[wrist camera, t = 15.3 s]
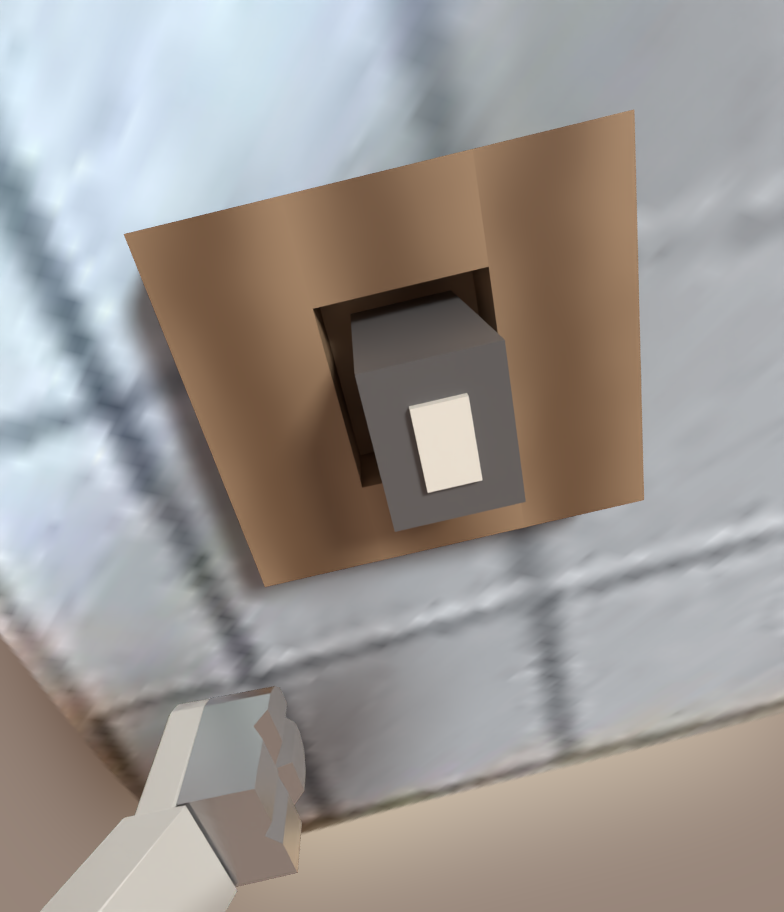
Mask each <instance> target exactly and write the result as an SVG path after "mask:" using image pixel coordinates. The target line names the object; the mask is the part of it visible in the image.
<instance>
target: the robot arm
mask: <svg viewBox="0 0 784 912" xmlns="http://www.w3.org/2000/svg"><path fill="white" fill-rule="evenodd" d="M286 708H287V701H286V699H285V697H284V695H283V693H282V691H281V689H280V687H275V686H273V687H268V688H262V689H257V690H251V691H246V692H240V693H235V694H229V695H224V696H218V697H213V698H210V699H206V700H200V701H195V702H189V703H184V704H178V705H177V706H176V707H175V709H174V710H173V711H172V712H171V714H170V715H169V718H168V721H167V724H166V727H165V729H164V732H163V735H162V738H161V741H160V744H159V746H158V749H157V752H156V755H155V758H154V761H153V764H152V766H151V769H150V772H149V775H148V778H147V781H146V783H145V786H144V789H143V792H142V795H141V798H140V801H139V804H138V806H137V809H136V812H135V815H134V816H129V817H125V818H123V819H122V820H121V821H120V822H119V824H118V825H117V826H116V827H115V828H114V829H113V830H112V831H111V832H110V834H109V835H108V836H107V837H106V838H105V839H104V840H103V841H102V843H101V844H100V845H99V846H98V847H97V848H96V849H95V850H94V851H93V853H92V854H91V855H90V856H89V857H88V858H87V859H86V860H85V862H84V863H83V864H82V865H81V866H80V867H79V868H78V869H77V870H76V871H75V873H74V874H73V875H72V876H71V877H70V878H69V879H68V880H67V882H66V883H65V884H64V885H63V886H62V887H61V888H60V889H59V891H58V892H57V893H56V894H55V895H54V896H53V897H52V898H51V900H50V901H49V902H48V903H47V904H46V905H45V906H44V907H43V908H42V909H41V911H40V912H226V910H227V909H228V907H229V905H230V903H231V902H232V900H233V898H234V896H235V894H236V893H237V889H236V887H237V886H242V885H246V884H250V883H255V882H259V881H263V880H268V879H272V878H276V877H281V876H285V875H290V874H294V873H298V862H299V850H300V839H301V827H302V821H301V819H300V817H299V814H298V812H297V810H296V808H295V806H294V805H295V804H296V802H297V801H298V799H299V798H300V796H301V795H302V793H303V792H304V790H305V775H306V768H305V754H304V747H303V743H302V738H301V734H300V732H299V729H298V727H297V725H296V723H295V722H293V721H291V720H290V719H288V718H286V717H285V716H286Z"/></svg>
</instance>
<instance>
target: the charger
mask: <svg viewBox="0 0 784 912" xmlns="http://www.w3.org/2000/svg"><path fill="white" fill-rule="evenodd" d="M350 316H351V330H352V344H353V358H354V372H355V378H356V382H357V386H358V390H359V394H360V398H361V401H362V405H363V409H364V413H365V417H366V421H367V425H368V429H369V433H370V437H371V441H372V444H373V448H374V452H375V456H376V460H377V464H378V468H379V472H380V476H381V480H382V484H383V487H384V491H385V495H386V499H387V503H388V507H389V511H390V515H391V519H392V523H393V527H394V530H395V532H397V531H401V530H405V529H410V528H414V527H419V526H423V525H427V524H432V523H436V522H440V521H445V520H449V519H453V518H458V517H462V516H467V515H471V514H475V513H480V512H484V511H488V510H493V509H497V508H502V507H506V506H510V505H515V504H519V503H523V502H526V499H525V491H524V484H523V476H522V468H521V461H520V453H519V445H518V438H517V430H516V422H515V414H514V407H513V399H512V391H511V384H510V376H509V368H508V361H507V353H506V345H505V339H504V338H502V337H501V336H500V335H499V334H498V333H497V332H496V331H495V330H494V329H493V328H492V327H490V326H489V325H488V324H487V323H486V322H485V321H484V320H483V319H482V318H481V317H480V316H479V315H477V314H476V313H475V312H474V311H473V310H472V309H471V308H470V307H469V306H468V305H467V304H465V303H464V302H463V301H462V300H461V299H460V298H459V297H458V296H457V295H456V294H455V293H454V292H452V291H451V290H449V291H445V292H441V293H437V294H432V295H428V296H424V297H420V298H415V299H411V300H407V301H403V302H399V303H394V304H390V305H386V306H382V307H377V308H373V309H369V310H365V311H361V312H356V313H352V314H350Z"/></svg>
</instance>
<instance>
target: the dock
mask: <svg viewBox="0 0 784 912" xmlns="http://www.w3.org/2000/svg"><path fill="white" fill-rule="evenodd" d="M124 236H125V238H126V241H127V243H128V246H129V248H130V251H131V253H132V256H133V258H134V261H135V263H136V266H137V268H138V271H139V273H140V276H141V278H142V281H143V283H144V286H145V288H146V291H147V293H148V296H149V298H150V301H151V303H152V306H153V308H154V311H155V313H156V316H157V318H158V321H159V323H160V326H161V328H162V331H163V333H164V336H165V338H166V341H167V343H168V346H169V348H170V351H171V353H172V356H173V358H174V361H175V363H176V366H177V368H178V371H179V373H180V376H181V378H182V381H183V383H184V386H185V388H186V391H187V393H188V396H189V398H190V401H191V403H192V406H193V408H194V411H195V413H196V416H197V418H198V421H199V423H200V426H201V428H202V431H203V433H204V436H205V438H206V441H207V443H208V446H209V448H210V451H211V453H212V456H213V458H214V461H215V463H216V466H217V468H218V471H219V473H220V476H221V478H222V481H223V483H224V486H225V488H226V491H227V493H228V496H229V498H230V501H231V503H232V506H233V508H234V511H235V513H236V516H237V518H238V521H239V523H240V526H241V528H242V531H243V533H244V536H245V538H246V541H247V543H248V546H249V548H250V551H251V553H252V556H253V558H254V561H255V563H256V566H257V568H258V571H259V573H260V576H261V578H262V581H263V583H264V586H265V587H267V586H272V585H276V584H280V583H285V582H289V581H293V580H298V579H302V578H307V577H311V576H315V575H320V574H324V573H328V572H333V571H337V570H341V569H346V568H350V567H354V566H359V565H363V564H367V563H372V562H376V561H380V560H385V559H389V558H394V557H398V556H402V555H407V554H411V553H415V552H420V551H424V550H428V549H433V548H437V547H441V546H446V545H450V544H454V543H459V542H463V541H468V540H472V539H476V538H481V537H485V536H489V535H494V534H498V533H502V532H507V531H511V530H515V529H520V528H524V527H528V526H533V525H537V524H541V523H546V522H550V521H555V520H559V519H563V518H568V517H572V516H576V515H581V514H585V513H589V512H594V511H598V510H602V509H607V508H611V507H615V506H620V505H624V504H628V503H633V502H637V501H642V500H644V482H643V442H642V401H641V361H640V321H639V280H638V240H637V200H636V159H635V119H634V110H631V111H627V112H622V113H618V114H614V115H610V116H606V117H602V118H598V119H594V120H590V121H586V122H581V123H577V124H573V125H569V126H565V127H561V128H557V129H553V130H549V131H545V132H540V133H536V134H532V135H528V136H524V137H520V138H516V139H512V140H508V141H504V142H500V143H495V144H491V145H487V146H483V147H479V148H475V149H471V150H467V151H463V152H459V153H454V154H450V155H446V156H442V157H438V158H434V159H430V160H426V161H422V162H418V163H413V164H409V165H405V166H401V167H397V168H393V169H389V170H385V171H381V172H377V173H372V174H368V175H364V176H360V177H356V178H352V179H348V180H344V181H340V182H336V183H332V184H327V185H323V186H319V187H315V188H311V189H307V190H303V191H299V192H295V193H291V194H286V195H282V196H278V197H274V198H270V199H266V200H262V201H258V202H254V203H250V204H245V205H241V206H237V207H233V208H229V209H225V210H221V211H217V212H213V213H209V214H205V215H200V216H196V217H192V218H188V219H184V220H180V221H176V222H172V223H168V224H164V225H159V226H155V227H151V228H147V229H143V230H139V231H135V232H131V233H127V234H124ZM449 290H451V291H452V292H454V293H455V294H456V295H457V296H458V297H459V298H460V299H461V300H462V301H463V302H464V303H465V304H467V305H468V306H469V307H470V308H471V309H472V310H473V311H474V312H475V313H476V314H477V315H479V316H480V317H481V318H482V319H483V320H484V321H485V322H486V323H487V324H488V325H489V326H490V327H492V328H493V329H494V330H495V331H496V332H497V333H498V334H499V335H500V336H501V337H502V338H504V339H505V345H506V353H507V361H508V368H509V376H510V384H511V391H512V399H513V407H514V414H515V422H516V430H517V438H518V445H519V453H520V461H521V468H522V476H523V484H524V491H525V499H526V502H523V503H519V504H515V505H510V506H506V507H502V508H497V509H493V510H488V511H484V512H480V513H475V514H471V515H467V516H462V517H458V518H453V519H449V520H445V521H440V522H436V523H432V524H427V525H423V526H419V527H414V528H410V529H405V530H401V531H397V532H395V530H394V527H393V523H392V519H391V515H390V511H389V507H388V503H387V499H386V495H385V491H384V487H383V484H382V480H381V476H380V472H379V468H378V464H377V460H376V456H375V452H374V448H373V444H372V441H371V437H370V433H369V429H368V425H367V421H366V417H365V413H364V409H363V405H362V401H361V398H360V394H359V390H358V386H357V382H356V378H355V372H354V358H353V344H352V330H351V316H350V314H352V313H356V312H361V311H365V310H369V309H373V308H377V307H382V306H386V305H390V304H394V303H399V302H403V301H407V300H411V299H415V298H420V297H424V296H428V295H432V294H437V293H441V292H445V291H449Z"/></svg>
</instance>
